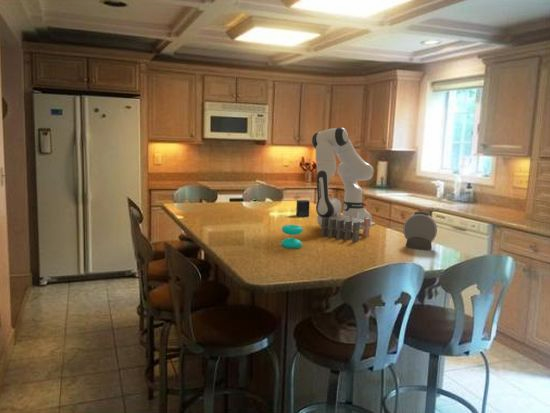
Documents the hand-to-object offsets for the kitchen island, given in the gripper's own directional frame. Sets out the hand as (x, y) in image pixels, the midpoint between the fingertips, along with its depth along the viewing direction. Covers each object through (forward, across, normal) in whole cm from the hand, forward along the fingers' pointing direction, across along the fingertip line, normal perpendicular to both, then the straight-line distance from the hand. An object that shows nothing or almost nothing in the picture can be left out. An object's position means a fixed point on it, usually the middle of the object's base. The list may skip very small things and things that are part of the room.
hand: (367, 226), depth 262 cm
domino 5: (0, -16, +6) cm, 17 cm away
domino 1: (-18, -16, +6) cm, 25 cm away
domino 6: (-1, 0, +6) cm, 6 cm away
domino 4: (-5, -16, +6) cm, 18 cm away
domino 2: (-14, -16, +6) cm, 22 cm away
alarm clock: (+30, -8, +6) cm, 32 cm away
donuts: (-19, -51, +6) cm, 55 cm away
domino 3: (-9, -16, +6) cm, 19 cm away
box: (-61, +36, +6) cm, 71 cm away
